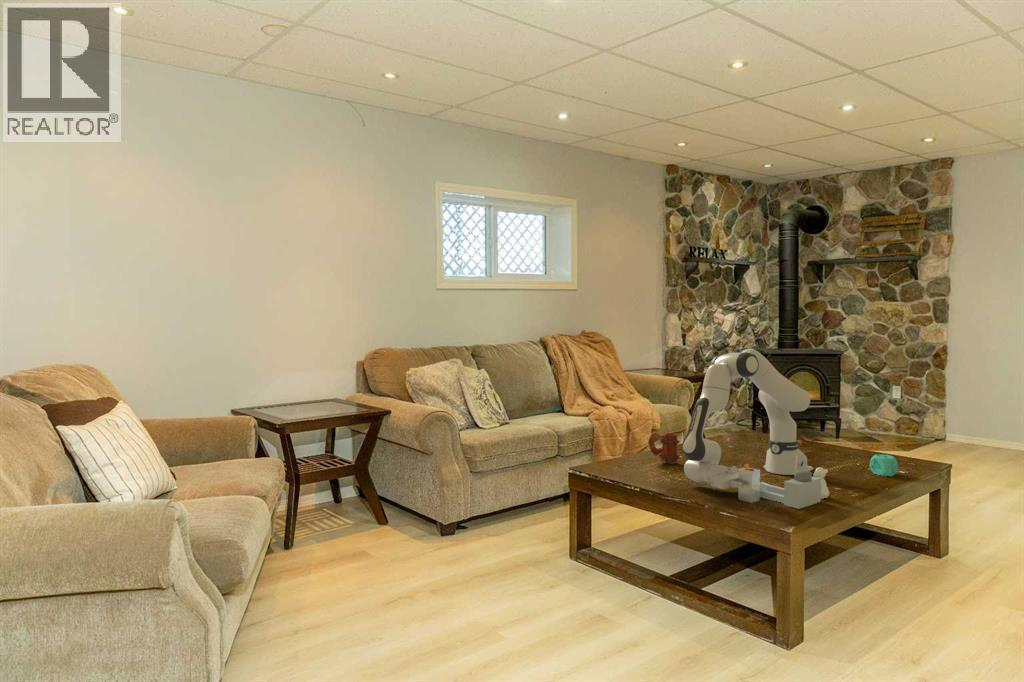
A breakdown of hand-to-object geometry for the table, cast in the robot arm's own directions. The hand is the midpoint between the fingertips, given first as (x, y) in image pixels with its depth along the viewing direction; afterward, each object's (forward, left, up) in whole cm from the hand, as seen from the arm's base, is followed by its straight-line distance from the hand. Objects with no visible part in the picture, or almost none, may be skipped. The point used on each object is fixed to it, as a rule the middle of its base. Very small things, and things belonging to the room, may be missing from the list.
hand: (749, 483), depth 261 cm
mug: (-20, -60, -7) cm, 64 cm away
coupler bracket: (-12, +5, -6) cm, 15 cm away
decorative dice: (-80, +13, -7) cm, 81 cm away
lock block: (0, 0, -7) cm, 7 cm away
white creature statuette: (-25, +14, -7) cm, 29 cm away
